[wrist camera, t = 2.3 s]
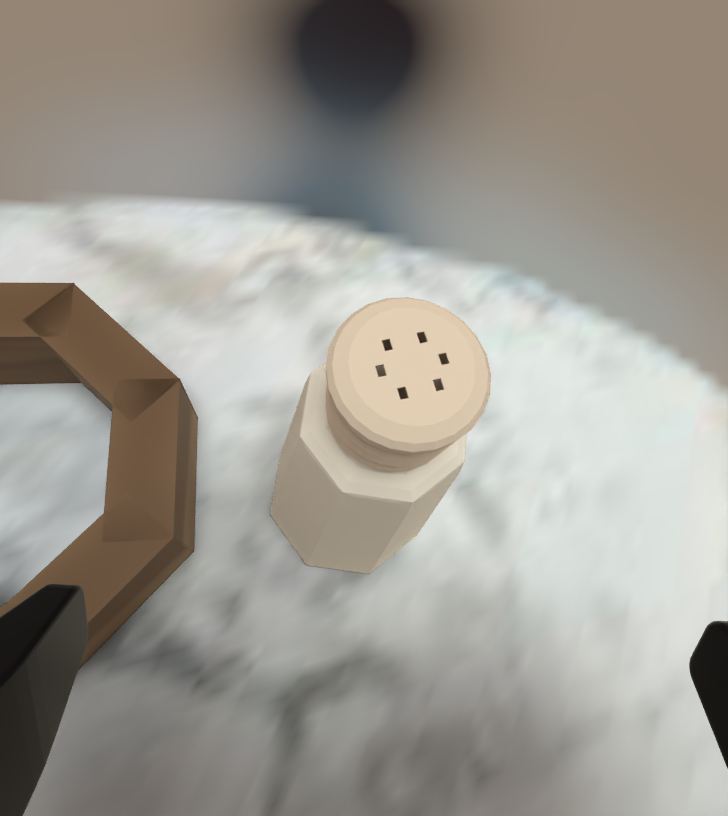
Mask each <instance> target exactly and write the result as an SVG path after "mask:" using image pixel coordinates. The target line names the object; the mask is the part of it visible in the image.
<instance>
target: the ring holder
mask: <svg viewBox="0 0 728 816" xmlns="http://www.w3.org/2000/svg"><path fill="white" fill-rule="evenodd" d="M29 383H82V384H83V385H84V386H86V387H87V388H88V389H89V390H90V391H91V392H92V393H93V394H94V395H95V396H96V397H97V398H98V399H99V400H101V401H102V402H103V403H104V404H105V405H106V406H107V407H108V408H109V409H110V410H111V411H112V420H111V433H110V445H109V457H108V470H107V482H106V495H105V507H104V514H103V515H101V516H100V517H99V518H98V519H97V520H96V521H95V522H94V523H93V524H92V525H91V526H90V527H89V528H87V529H86V530H85V531H84V532H83V533H82V534H81V535H80V536H79V537H78V538H77V539H76V540H75V541H73V542H72V543H71V544H70V545H69V546H68V547H67V548H66V549H65V550H64V551H63V552H62V553H61V554H59V555H58V556H57V557H56V558H55V559H54V560H53V561H52V562H51V563H50V564H49V565H48V566H47V567H45V568H44V569H43V570H42V571H41V572H40V573H39V574H38V575H37V576H36V577H35V578H34V579H33V580H31V581H30V582H29V583H28V584H27V585H26V586H25V587H24V588H23V589H22V590H21V591H20V592H19V593H17V594H16V595H15V596H14V597H13V598H12V599H11V600H10V601H9V602H8V603H7V604H6V605H5V606H0V617H1V616H2V615H4V614H5V613H6V612H8V611H9V610H11V609H12V608H14V607H15V606H17V605H18V604H19V603H21V602H22V601H24V600H25V599H27V598H28V597H29V596H31V595H32V594H34V593H35V592H37V591H38V590H39V589H41V588H42V587H44V586H46V585H48V584H52V583H59V584H76V585H79V586H81V587H82V589H83V591H84V595H85V604H86V613H87V622H88V640H87V644H86V648H85V651H84V654H83V657H82V660H81V663H80V666H79V669H80V667H81V666H82V665H83V664H84V663H85V662H86V661H87V660H88V659H89V658H90V657H91V656H92V655H93V654H94V653H95V652H96V651H97V650H98V649H99V648H100V647H101V646H102V645H103V644H104V643H105V642H106V641H107V640H108V639H109V638H110V637H111V636H112V635H113V634H114V633H115V632H116V631H117V630H118V629H119V627H120V626H121V625H122V624H123V623H124V622H125V621H126V620H127V619H128V618H129V617H130V616H131V615H132V614H133V613H134V612H135V611H136V610H137V609H138V608H139V607H140V606H141V605H142V604H143V603H144V602H145V601H146V600H147V599H148V598H149V597H150V596H151V595H152V594H153V593H154V592H155V591H156V590H157V589H158V587H159V586H160V585H161V584H162V583H163V582H164V581H165V580H166V579H167V578H168V577H169V576H170V575H171V574H172V573H173V572H174V571H175V570H176V569H177V568H178V567H179V566H180V565H181V564H182V563H183V562H184V561H185V560H186V559H187V558H188V557H189V556H190V555H191V554H192V553H193V552H194V533H195V496H196V459H197V422H198V417H197V415H196V413H195V411H194V408H193V406H192V404H191V402H190V400H189V398H188V396H187V393H186V391H185V389H184V387H183V385H182V383H181V381H180V379H179V378H178V377H177V376H175V375H174V374H173V373H172V372H171V371H170V370H169V369H168V368H167V367H165V366H164V365H163V364H162V363H161V362H160V361H159V360H158V359H157V358H156V357H154V356H153V355H152V354H151V353H150V352H149V351H148V350H147V349H146V348H144V347H143V346H142V345H141V344H140V343H139V342H138V341H137V340H136V339H135V338H133V337H132V336H131V335H130V334H129V333H128V332H127V331H126V330H125V329H123V328H122V327H121V326H120V325H119V324H118V323H117V322H116V321H115V320H114V319H112V318H111V317H110V316H109V315H108V314H107V313H106V312H105V311H104V310H102V309H101V308H100V307H99V306H98V305H97V304H96V303H95V302H94V301H93V300H91V299H90V298H89V297H88V296H87V295H86V294H85V293H84V292H83V291H81V290H80V289H79V288H78V287H77V286H76V285H75V284H74V283H0V384H29ZM79 669H78V670H79Z"/></svg>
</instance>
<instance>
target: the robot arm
mask: <svg viewBox="0 0 728 816" xmlns="http://www.w3.org/2000/svg"><path fill="white" fill-rule="evenodd" d="M87 640H88V622H87V613H86V604H85V595H84V591H83V589H82V587H81V586H79V585H76V584H59V583H52V584H48V585H46V586H44V587H42V588H41V589H39V590H38V591H37V592H35V593H34V594H32V595H31V596H29V597H28V598H27V599H25V600H24V601H22V602H21V603H19V604H18V605H17V606H15V607H14V608H12V609H11V610H9V611H8V612H6V613H5V614H4V615H2V616H1V617H0V816H23V814H24V812H25V810H26V807H27V805H28V803H29V801H30V799H31V796H32V794H33V792H34V790H35V788H36V785H37V783H38V781H39V778H40V776H41V774H42V771H43V769H44V767H45V764H46V761H47V759H48V756H49V753H50V750H51V748H52V745H53V742H54V739H55V736H56V733H57V730H58V727H59V724H60V721H61V718H62V716H63V713H64V710H65V707H66V704H67V701H68V698H69V695H70V692H71V689H72V686H73V683H74V680H75V677H76V675H77V672H78V669H79V666H80V663H81V660H82V657H83V654H84V651H85V648H86V644H87ZM689 667H690V674H691V677H692V680H693V683H694V685H695V688H696V690H697V693H698V695H699V698H700V700H701V703H702V705H703V708H704V710H705V713H706V715H707V718H708V720H709V723H710V725H711V728H712V730H713V733H714V735H715V738H716V740H717V743H718V745H719V748H720V750H721V753H722V756H723V758H724V761H725V763H726V766H727V768H728V621H713V622H711V623H710V624H709V625H708V626H707V627H706V629H705V631H704V633H703V635H702V637H701V638H700V640H699V642H698V644H697V646H696V648H695V650H694V652H693V654H692V656H691V658H690V663H689Z"/></svg>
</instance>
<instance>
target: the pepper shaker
mask: <svg viewBox="0 0 728 816" xmlns="http://www.w3.org/2000/svg"><path fill="white" fill-rule="evenodd" d="M490 382H491V373H490V368H489V364H488V360H487V355H486V353H485V351H484V349H483V347H482V345H481V344H480V342H479V340H478V338H477V336H476V335H475V334H474V333H473V332H472V331H471V329H470V328H469V327H468V326H467V325H466V324H465V323H464V321H462V320H461V319H460V318H458V317H457V316H455V315H454V314H453V313H451V312H450V311H448V310H447V309H445V308H443V307H440V306H438V305H435V304H433V303H431V302H428V301H424V300H418V299H413V298H389V299H384V300H381V301H377V302H374V303H371V304H368V305H366V306H364V307H363V308H361V309H360V310H358V311H356V312H355V313H353V314H352V315H350V316H349V317H348V319H347V320H346V321H345V322H344V323H343V324H342V325H341V326H340V327H339V329H338V330H337V332H336V334H335V336H334V338H333V340H332V342H331V344H330V346H329V350H328V356H327V362H326V363H325V364H323V365H322V366H320V367H319V368H317V369H316V370H314V371H313V372H311V373H310V375H309V377H308V379H307V381H306V383H305V386H304V388H303V391H302V394H301V397H300V400H299V403H298V406H297V409H296V412H295V415H294V417H293V420H292V423H291V426H290V429H289V432H288V435H287V438H286V441H285V444H284V446H283V449H282V452H281V456H280V461H279V467H278V472H277V478H276V483H275V489H274V494H273V500H272V505H271V511H270V515H271V516H272V518H273V519H274V520H275V522H276V523H277V525H278V526H279V527H280V529H281V530H282V532H283V533H284V534H285V536H286V537H287V539H288V540H289V541H290V543H291V544H292V546H293V547H294V548H295V550H296V551H297V552H298V554H299V555H300V557H301V558H302V559H303V561H304V562H305V564H306V565H308V566H316V567H323V568H330V569H338V570H345V571H352V572H360V573H367V574H370V573H371V572H372V571H373V570H375V569H376V568H377V567H378V566H380V565H381V564H382V563H383V562H384V561H386V560H387V559H388V558H389V557H391V556H392V555H393V554H394V553H396V552H397V551H398V550H399V549H400V548H402V547H403V546H404V545H405V544H407V543H408V542H409V541H410V540H411V539H413V538H414V537H415V536H416V535H417V534H418V533H419V531H420V530H421V528H422V527H423V525H424V524H425V522H426V521H427V520H428V518H429V517H430V515H431V514H432V512H433V511H434V509H435V508H436V506H437V505H438V503H439V502H440V500H441V499H442V497H443V496H444V495H445V493H446V492H447V490H448V489H449V487H450V486H451V484H452V483H453V481H454V480H455V478H456V477H457V475H458V474H459V472H460V470H461V468H462V466H463V464H464V462H465V449H466V433H467V432H469V431H470V430H471V429H472V428H473V427H474V425H475V424H476V423H477V421H478V420H479V418H480V417H481V416H482V414H483V413H484V410H485V407H486V404H487V401H488V398H489V395H490Z"/></svg>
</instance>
